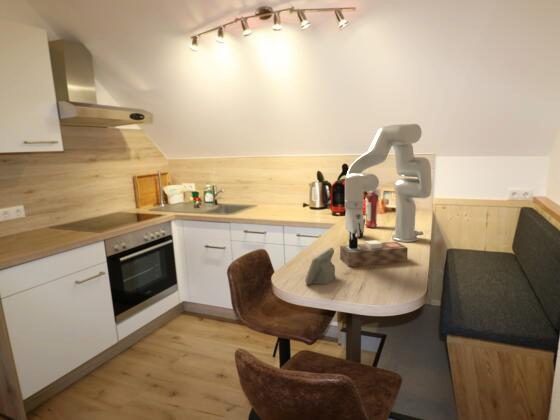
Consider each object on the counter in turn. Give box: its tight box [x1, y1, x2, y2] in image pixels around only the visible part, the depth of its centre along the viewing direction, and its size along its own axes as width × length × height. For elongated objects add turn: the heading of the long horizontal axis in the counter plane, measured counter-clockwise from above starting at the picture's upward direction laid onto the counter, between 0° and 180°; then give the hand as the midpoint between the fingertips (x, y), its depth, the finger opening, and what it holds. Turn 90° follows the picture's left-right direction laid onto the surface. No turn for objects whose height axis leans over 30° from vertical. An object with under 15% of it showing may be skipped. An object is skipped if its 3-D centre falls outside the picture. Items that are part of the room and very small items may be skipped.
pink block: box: [385, 243, 401, 248], centre depth 155 cm, size 5×5×4 cm
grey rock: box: [304, 247, 336, 285], centre depth 134 cm, size 16×9×11 cm, turn 138°
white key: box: [365, 239, 383, 249], centre depth 153 cm, size 5×5×4 cm
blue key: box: [346, 247, 361, 251], centre depth 152 cm, size 5×5×4 cm
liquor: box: [364, 190, 379, 229], centre depth 212 cm, size 7×7×28 cm
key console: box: [339, 241, 409, 267], centre depth 154 cm, size 26×10×6 cm, turn 100°
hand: (353, 247), depth 152 cm, fingers closed
